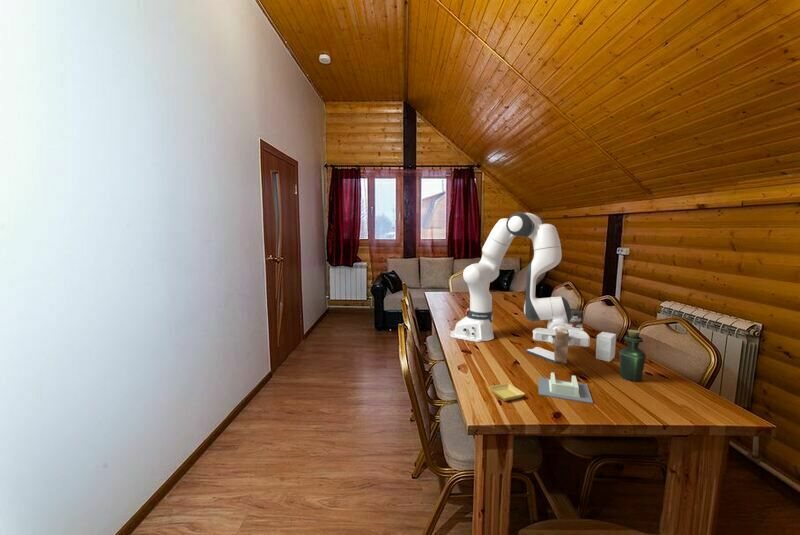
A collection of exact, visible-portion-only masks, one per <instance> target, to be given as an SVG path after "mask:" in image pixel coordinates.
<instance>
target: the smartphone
mask: <svg viewBox="0 0 800 535" xmlns="http://www.w3.org/2000/svg"><path fill="white" fill-rule="evenodd" d="M525 353H526V354H529V355H531V356H535V357H537V358H539V359H542V360H544V361H547V362H551V363H553V364H560V363H562V362H557V361H555V359H554V351H551V350H548V349H545V348H542V347H540V346H534V347H531V348H527V349H525ZM568 360H569V358H568V357H567V361H568Z"/></svg>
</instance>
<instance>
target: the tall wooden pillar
mask: <svg viewBox="0 0 800 535" xmlns="http://www.w3.org/2000/svg"><path fill="white" fill-rule="evenodd" d="M555 339H556V344H554V351H553V352H554V359H555V361H557V362H561V363H563V364H564V363H565V364H567V362H568V360H567V358H568V351H569V350H568V349H569V346H568V339H569V333H568V330H567V329H562V328H556V335H555Z"/></svg>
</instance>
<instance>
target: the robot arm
mask: <svg viewBox="0 0 800 535" xmlns="http://www.w3.org/2000/svg"><path fill="white" fill-rule="evenodd" d="M516 237H521V238H529V239H530V240H531V242H532V247H533V257H532V260H531V262H529V263H528V265H527V271H526V284H525V285H526V286H525V300H524V305H523V313H524V315H525V318H526V319H528V320H529V321H531V322H538V321H539V322H540V321H547V323H546V324H547V325H546V328H545V327H544V328H543V327H536V328H534V329H533V330H532V340H534V341H537V342H545V343H546V342H547V343H551V345H555V344H556V339H555V335H556V328H562V329H567V330H568V333H569V339H568V347H572V346H576V347H577V346H579V347H584V348H588V347H590V344H591V338H590V336H589V334H588V333H587V332H586V331H584V327H582V328H580V327H576V326H572V325H569V324H568V323H569V322H570V320H571V309H572V308H571V305H570V302H569V301H568V300H567V299H566V298H565V297H564V296H562V295H561V296H560V295H559V296H550V297H541V298H540V297H539V298H537V297H536V288H537V287H536V285H537V280H538V278H539V276H540V275H542V274H544V273H546V272H548V271H550V270H552V269H554V268H555V267H557V265H559V264H560V262H561V260H562V244H561V240H560V237H559V233H558V231H557V227H556V226H555V225H553V224H551V223H545V222H544V219H543V218H542V217H541V216H539V215H538V214H534V213H530V212H515V213H513V214H511V215H510V216H509V217H508V218H506V217H505V218H500V219H499V220H498V221H497V222H496V223H495V225H494V226H493V228H492V229H491V231H490V233H489V234H488V236H487V238H486V241H484V245H483V246H482V248H481V251H482V253H481V254H482V255H481V258H480V260H479V261H478V262H477V263H472V264H470V265H468V266H466V267H465V268H464V269H463V272H462V278H463V280H464V282H465V284H467V288H468V291H469V307H468V308H467V309H466V310H465V316H464V317H463V318H461V319H460V320H459V321H457V322H456V324H455V327H454V329H453V330H451V332H450V334H449V335H450V337H451V338H453V339H459V340H464V341H470V342H473V343H474V342H475V343H480V342H487V341H491V340H492V341H493V340H494V339H495V335H494V330H493V319H494V317H493V316H494V315H493V314H494V313H493V307H492V306H493V296H492V295H493V294H492V293H491V291H490V289H489V283H492V282H494V281H495V280H497V278H498V277H499V276H500V267H501V265H502V262H503V258H504V256H505V255H506V253H507V251H508V249H509V247H510V245H511V243H512V242H513V240H514V238H516Z"/></svg>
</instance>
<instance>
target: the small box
mask: <svg viewBox="0 0 800 535" xmlns="http://www.w3.org/2000/svg"><path fill="white" fill-rule="evenodd" d="M616 342H617V333H613V332H606V331H601V332H599V333H598V334H596V344H595V345H596V348H595V359H597V360H600V361H604V362H611V361H612V360H613V359H615V355H616Z"/></svg>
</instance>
